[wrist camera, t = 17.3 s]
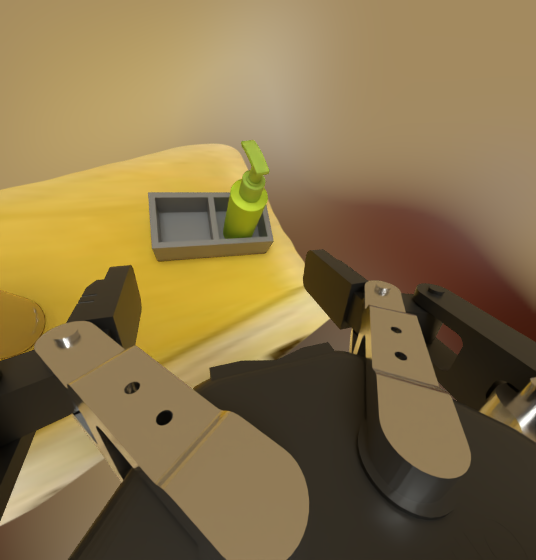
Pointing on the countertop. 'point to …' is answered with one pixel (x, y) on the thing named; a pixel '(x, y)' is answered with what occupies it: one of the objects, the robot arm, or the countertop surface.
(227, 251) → the caddy
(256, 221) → the soap dispenser
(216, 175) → the countertop surface
